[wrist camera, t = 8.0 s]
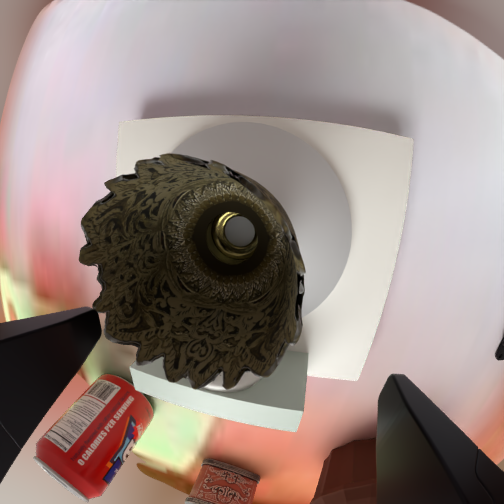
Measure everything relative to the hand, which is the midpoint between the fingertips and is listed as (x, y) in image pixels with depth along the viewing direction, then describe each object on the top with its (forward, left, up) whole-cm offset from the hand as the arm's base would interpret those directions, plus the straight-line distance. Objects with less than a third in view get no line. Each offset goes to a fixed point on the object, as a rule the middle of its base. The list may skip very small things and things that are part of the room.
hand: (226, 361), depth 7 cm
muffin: (-13, +23, -12) cm, 29 cm away
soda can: (+15, +20, -12) cm, 28 cm away
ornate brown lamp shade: (+2, -2, -9) cm, 9 cm away
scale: (+2, 0, -12) cm, 12 cm away
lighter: (+2, +31, -12) cm, 33 cm away
